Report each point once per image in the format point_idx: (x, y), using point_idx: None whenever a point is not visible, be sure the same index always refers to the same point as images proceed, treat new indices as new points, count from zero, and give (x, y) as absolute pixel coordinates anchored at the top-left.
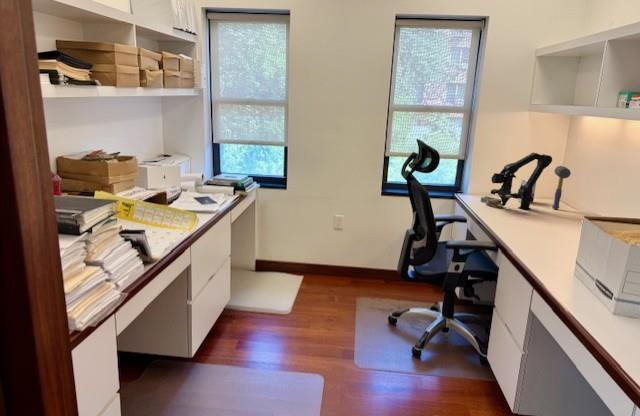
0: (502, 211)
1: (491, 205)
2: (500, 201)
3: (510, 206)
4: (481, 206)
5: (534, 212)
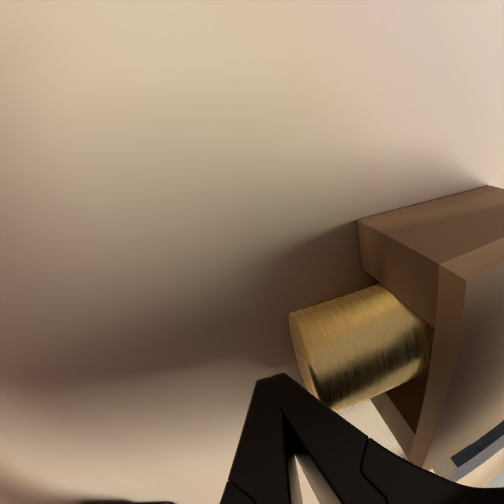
0: (55, 78)
1: (465, 202)
2: (419, 436)
3: None
4: (499, 57)
5: (8, 482)
